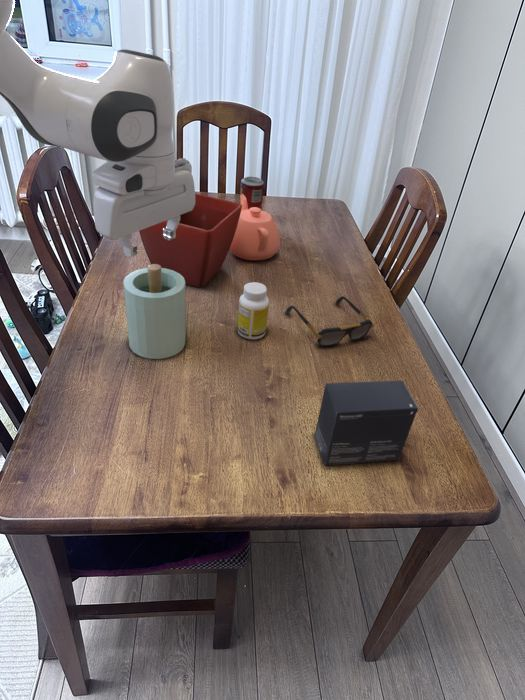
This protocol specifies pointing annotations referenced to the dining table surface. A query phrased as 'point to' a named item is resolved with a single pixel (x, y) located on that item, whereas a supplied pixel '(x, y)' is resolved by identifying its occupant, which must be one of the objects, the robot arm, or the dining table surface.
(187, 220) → the flower pot
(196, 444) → the dining table surface
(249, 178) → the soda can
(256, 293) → the pill bottle
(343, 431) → the small box
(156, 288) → the beige handle with collar
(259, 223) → the teapot
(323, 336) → the sunglasses
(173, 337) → the mint green tube
